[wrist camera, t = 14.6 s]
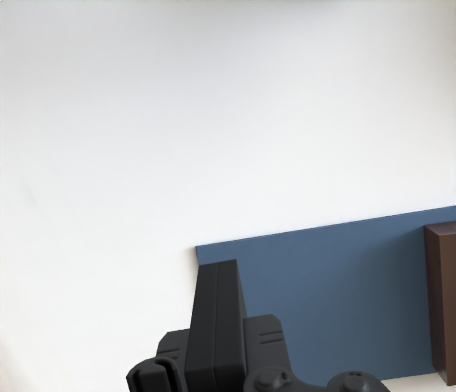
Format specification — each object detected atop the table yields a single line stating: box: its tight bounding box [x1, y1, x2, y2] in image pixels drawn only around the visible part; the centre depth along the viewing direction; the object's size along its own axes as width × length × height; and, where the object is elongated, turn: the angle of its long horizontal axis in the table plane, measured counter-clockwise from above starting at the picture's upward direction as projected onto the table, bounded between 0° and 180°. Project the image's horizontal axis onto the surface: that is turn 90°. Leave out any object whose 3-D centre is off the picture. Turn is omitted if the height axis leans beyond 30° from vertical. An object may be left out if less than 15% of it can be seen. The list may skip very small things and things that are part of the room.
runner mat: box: [196, 206, 456, 387], centre depth 40 cm, size 34×16×1 cm, turn 99°
